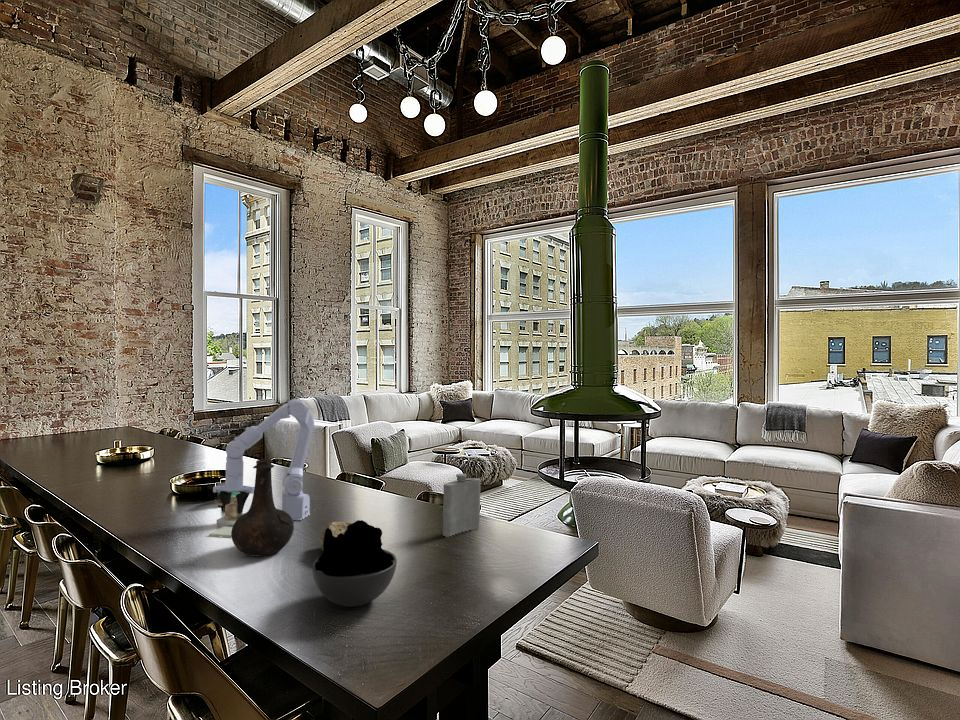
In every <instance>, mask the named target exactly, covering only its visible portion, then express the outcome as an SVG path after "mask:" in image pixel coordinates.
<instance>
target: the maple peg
mask: <svg viewBox="0 0 960 720" xmlns="http://www.w3.org/2000/svg"><path fill="white" fill-rule="evenodd" d="M237 508H238V504H237V503H234V502H232V503H230V504H227V505H225V511H224V516H225V519H238V518H239V517H240V516H242V513H243V512H242V513H240V514H238V512H237Z"/></svg>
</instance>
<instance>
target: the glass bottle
mask: <svg viewBox="0 0 960 720" xmlns="http://www.w3.org/2000/svg"><path fill="white" fill-rule="evenodd" d="M272 462H273V459H271V458H267V459H266V458H263V459H258V460H256V462H255V463H256V465H254V466H253V467H252V468H253V469H255V480H254V486H253V487H254V493H253V495H252V498H251V499H252V500H251V504H250V507H249V509H248V510H247V511H246V512H245V514H243V515H242V516H240V517H239V518H238V519H237V520H236V522H235V523H234V525H233V528H232V532H231V537H232V538H231V537H230V538H231V540H232V542H233V545H234V546H235V548H236V549H237V550H238V551H240V553H243V554H244V555H247V556H251V557H262V556H263V557H264V556H269V555H273V554H274V553H275V554H276V553H277V552H279V551H281V550H283V548H284V547H286V545H287V544H288V543H289V541H290V540H291V538H292V536H293V534H294V530H295V524H294V520H292V518H291V516H290V515H289V514H288V513H286V512H285V511H283V510H282V509H279V508H277V507H276V505H275V502H274V495H273V482H272V480H273V479H272V469H274V467H275V465H274V464H272Z"/></svg>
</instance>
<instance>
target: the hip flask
mask: <svg viewBox="0 0 960 720" xmlns="http://www.w3.org/2000/svg"><path fill="white" fill-rule="evenodd" d="M455 477H456V480H455V481H450V482H446V483H444V484H443V496H442V497H443V499H442V500H443V505H442V506H443V507H442V508H443V510H442V537H443V536H445V537H444V538H450V537H449V536H451V537H453V536H452V535H454V536H456V535H455V534H457V535H459V534H458V533H460V534H462V533H461V532H463V533H466V532H465V531H467V532H470V531H469V530H471V531H476V530H475V529H477V530H480V528H481V525H480V524H481V519H480V518H481V478H478V477H474V478H472V477H471V478H470V477H469V478H467V474H466V473H456V475H455Z"/></svg>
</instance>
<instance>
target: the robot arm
mask: <svg viewBox="0 0 960 720" xmlns="http://www.w3.org/2000/svg"><path fill="white" fill-rule="evenodd" d="M310 409H311V408H310V407H309V406H308V405H307V404H306V403H305V402H304V401H303V400H301V399H298V398H292V399H290V400H288V401H287V403H284V404H282V405H281V406H279V407H278V408H277V409H275V410H274V412H272V413H271V414H270V415H269V416H268V417H266V418H265V419H264V420H263V421H262V422H260V423H259V424H258V425H251V426H250V427H249V426H247V427H245V428H244V431H243V432H242V433H241V434H240V435H238V436H235V437H234V438H233V440H231V441H230V442H228V444H227V445H226V447H225V453H226V457H225V458H226V462H225V481H226V483H225V486H217V485H215V486H213V487H212V492H213V493H217V498H218V497H219V499H220V500H221V502H222V504H223V507H222V509H223V510H224V512H225V505H227V504H230V500H231V495H232V492H233V493H239V494H237V495H236V498H237V504H238V508H237V512H238V514H240V513H244V511H243V510H244V508H245V504H246V502H247V500H248V497H249V496H250V495H251V494H254V487H255V486H249V485H244V460H243V459H244V454H245V451H246V450H249V449H250V448H251V447H252V446H254V445H255V444H256V443H258V442H259V441H260V440H261V439H262V438H263V436H264V432H265V431H267V430H268V429H270V428H271V427H273V426H274V425H276V424H277V423H278V422H279V421H281V420H283V419H290V418H291V416H292V417H293V418H295V420H296V421H297V423H298V424H299V429H298V433H297V437H296V442H295V445H294V449H293V454H292V457H291V461H290V465H289V466H288V470H287V473H286V474H285V475H284V477H283V478H282V485H283V488H284V489H283V491H282V492H281V493H282V496H281V498H282V500H281V510H283V511H285V512H286V513H288V514H289V515H290V516H291V518H292V520H293V521H299V520H300V521H303V520H304V519H305V517H306V518H307V517H309V516H310V515H311V513H310V512H311V511H310V508H311V506H310V502H311V498H310V495H309V494H307V493H304V492H303V488H304V484H303V476H304V467H305V463H306V459H307V455H308V451H309V447H310V442H311V438H312V435H313V431H314V428H315V427H314V426H315V420H314V418H313V415H312V413H311V410H310ZM290 415H291V416H290ZM218 492H220V494H218ZM308 515H309V516H308ZM302 519H303V520H302Z"/></svg>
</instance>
